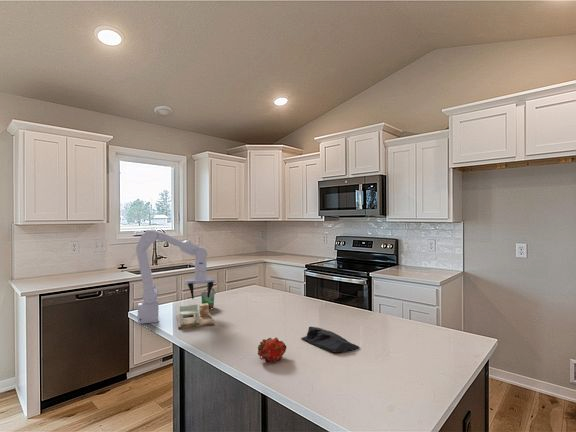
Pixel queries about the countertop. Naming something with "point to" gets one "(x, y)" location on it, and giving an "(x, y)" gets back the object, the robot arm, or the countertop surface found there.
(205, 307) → the maple block
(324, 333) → the charcoal beanbag
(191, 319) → the puzzle board
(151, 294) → the robot arm
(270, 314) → the countertop surface
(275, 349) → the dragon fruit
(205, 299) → the food container
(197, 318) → the sliding cover
